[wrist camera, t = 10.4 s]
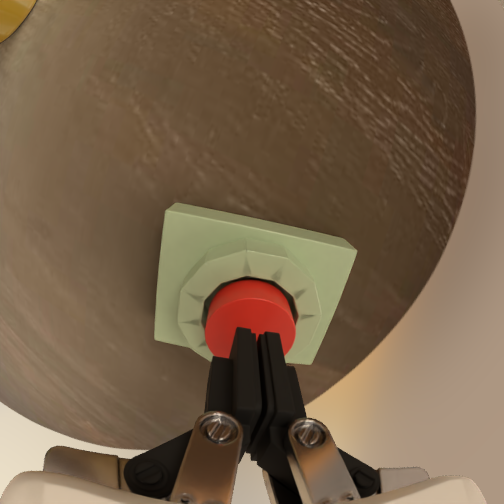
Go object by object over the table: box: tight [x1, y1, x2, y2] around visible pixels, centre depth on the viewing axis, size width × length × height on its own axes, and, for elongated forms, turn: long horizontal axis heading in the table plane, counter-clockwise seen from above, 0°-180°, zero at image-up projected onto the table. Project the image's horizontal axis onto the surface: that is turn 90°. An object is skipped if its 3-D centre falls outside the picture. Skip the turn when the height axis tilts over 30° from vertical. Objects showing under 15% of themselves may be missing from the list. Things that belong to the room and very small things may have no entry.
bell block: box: [154, 203, 357, 365], centre depth 15 cm, size 10×8×4 cm
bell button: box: [205, 280, 296, 358], centre depth 12 cm, size 4×4×2 cm
